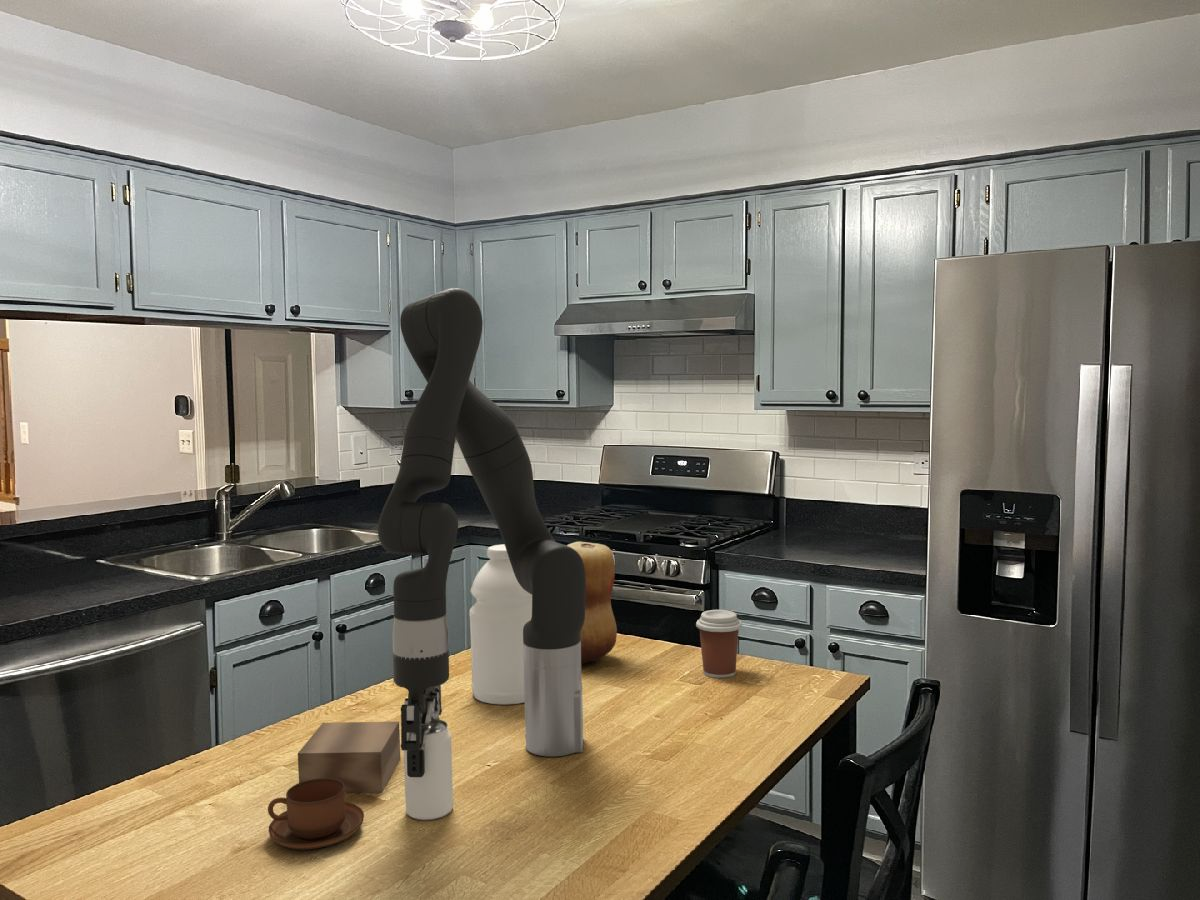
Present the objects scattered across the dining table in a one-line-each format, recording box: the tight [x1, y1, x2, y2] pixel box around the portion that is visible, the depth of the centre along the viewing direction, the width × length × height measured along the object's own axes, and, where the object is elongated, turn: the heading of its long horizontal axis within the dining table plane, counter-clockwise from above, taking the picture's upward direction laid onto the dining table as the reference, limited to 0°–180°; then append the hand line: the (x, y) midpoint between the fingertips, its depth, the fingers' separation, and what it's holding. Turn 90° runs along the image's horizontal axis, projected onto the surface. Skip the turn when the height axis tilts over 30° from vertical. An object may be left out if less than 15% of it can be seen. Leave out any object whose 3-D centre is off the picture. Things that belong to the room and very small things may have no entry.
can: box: [403, 719, 454, 822], centre depth 128 cm, size 6×6×12 cm
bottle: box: [468, 543, 532, 706], centre depth 175 cm, size 14×14×28 cm
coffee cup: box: [695, 609, 743, 679], centre depth 186 cm, size 9×9×12 cm
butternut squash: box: [566, 541, 618, 665], centre depth 194 cm, size 14×13×25 cm
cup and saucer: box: [267, 778, 365, 850], centre depth 123 cm, size 12×12×6 cm
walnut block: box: [297, 721, 402, 794], centre depth 141 cm, size 12×12×6 cm
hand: (423, 763), depth 128 cm, fingers open, 8 cm apart
